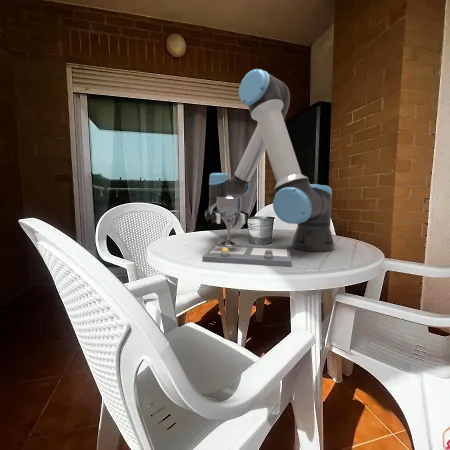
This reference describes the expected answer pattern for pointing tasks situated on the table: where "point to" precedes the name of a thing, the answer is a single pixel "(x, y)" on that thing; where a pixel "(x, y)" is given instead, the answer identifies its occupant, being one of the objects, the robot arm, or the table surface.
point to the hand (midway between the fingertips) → (231, 219)
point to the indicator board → (249, 256)
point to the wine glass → (228, 214)
